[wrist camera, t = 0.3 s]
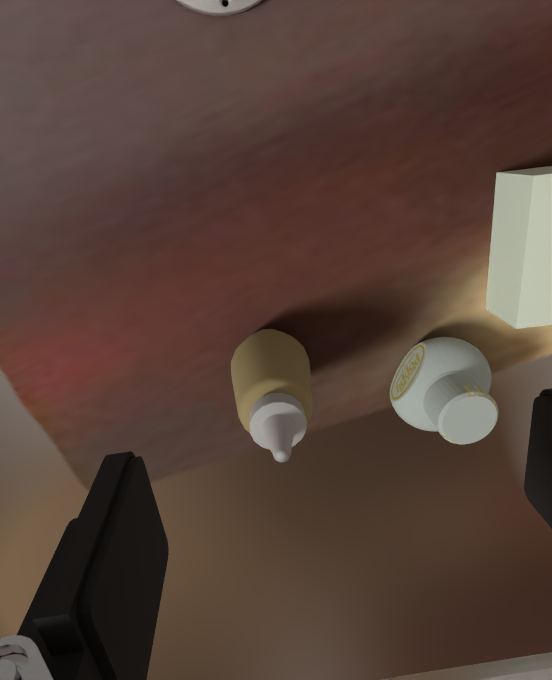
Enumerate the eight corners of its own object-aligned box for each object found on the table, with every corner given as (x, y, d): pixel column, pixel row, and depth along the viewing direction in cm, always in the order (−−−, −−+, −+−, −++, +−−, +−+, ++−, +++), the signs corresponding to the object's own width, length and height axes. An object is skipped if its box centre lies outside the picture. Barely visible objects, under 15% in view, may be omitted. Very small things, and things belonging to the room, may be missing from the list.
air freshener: (423, 318, 49) (465, 356, 40) (484, 344, 51) (538, 387, 42) (374, 399, 53) (403, 452, 44) (434, 421, 55) (473, 476, 45)
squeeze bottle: (278, 303, 47) (298, 386, 31) (319, 360, 50) (357, 463, 34) (215, 345, 49) (203, 446, 32) (259, 398, 51) (267, 516, 35)
